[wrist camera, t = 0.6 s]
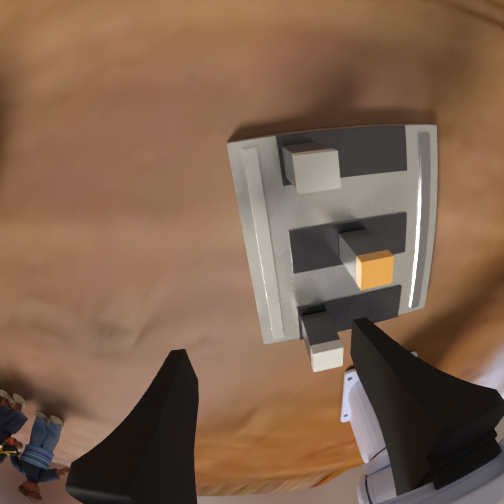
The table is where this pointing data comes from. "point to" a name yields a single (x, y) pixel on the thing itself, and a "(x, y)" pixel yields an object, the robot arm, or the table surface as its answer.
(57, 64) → the table surface
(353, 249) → the breaker
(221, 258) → the table surface
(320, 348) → the block
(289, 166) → the block
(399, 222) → the plate
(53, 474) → the doll family
